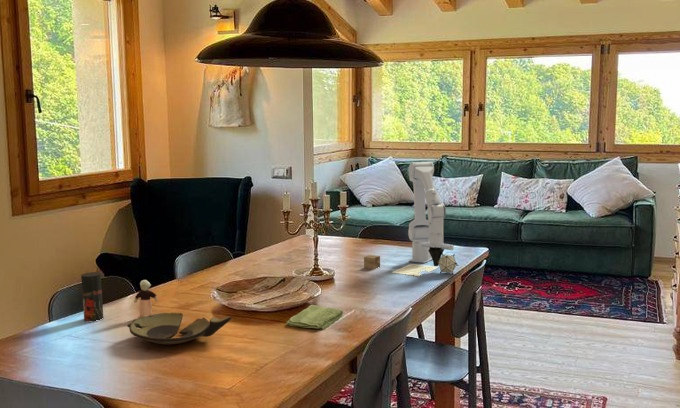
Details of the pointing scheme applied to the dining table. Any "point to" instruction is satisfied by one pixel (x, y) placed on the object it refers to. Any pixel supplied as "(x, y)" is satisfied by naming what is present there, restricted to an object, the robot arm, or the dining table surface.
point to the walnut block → (371, 262)
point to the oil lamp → (173, 328)
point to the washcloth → (315, 317)
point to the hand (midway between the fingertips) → (436, 265)
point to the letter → (414, 269)
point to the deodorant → (92, 296)
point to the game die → (447, 263)
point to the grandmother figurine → (145, 299)
